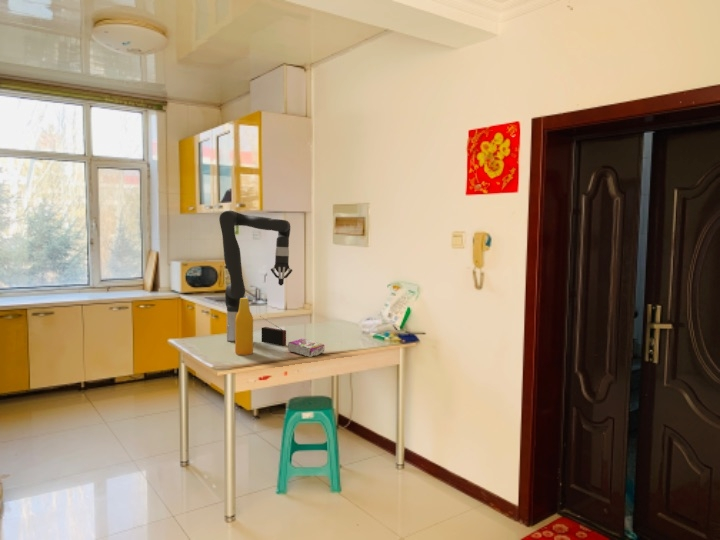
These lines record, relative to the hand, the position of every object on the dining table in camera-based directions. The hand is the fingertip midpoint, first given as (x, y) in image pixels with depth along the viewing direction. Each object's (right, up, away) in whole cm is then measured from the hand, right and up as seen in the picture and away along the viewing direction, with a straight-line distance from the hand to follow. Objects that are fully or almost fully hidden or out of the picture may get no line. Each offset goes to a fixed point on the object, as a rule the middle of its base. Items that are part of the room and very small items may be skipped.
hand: (280, 285), depth 300 cm
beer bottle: (-16, -35, -24) cm, 45 cm away
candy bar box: (+10, -31, -16) cm, 37 cm away
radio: (-5, -34, +1) cm, 34 cm away
